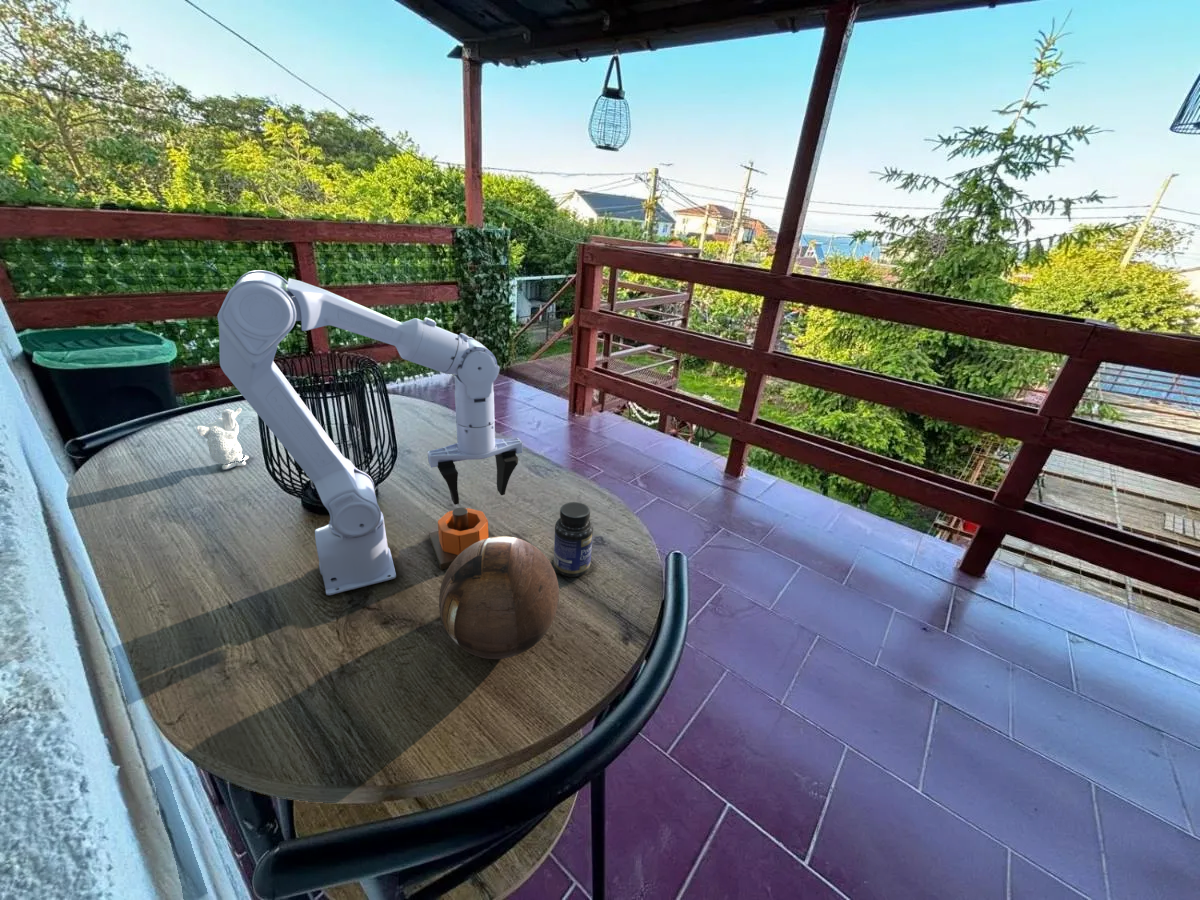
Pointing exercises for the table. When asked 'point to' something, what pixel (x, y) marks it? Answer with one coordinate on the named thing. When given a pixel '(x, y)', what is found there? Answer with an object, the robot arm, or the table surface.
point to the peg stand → (458, 524)
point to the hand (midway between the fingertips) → (478, 496)
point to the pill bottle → (573, 540)
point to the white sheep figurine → (224, 439)
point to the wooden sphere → (499, 597)
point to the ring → (463, 539)
